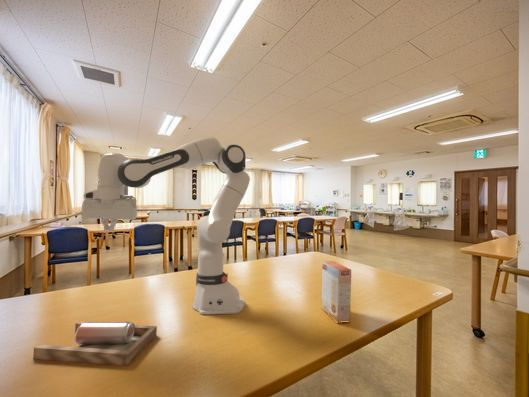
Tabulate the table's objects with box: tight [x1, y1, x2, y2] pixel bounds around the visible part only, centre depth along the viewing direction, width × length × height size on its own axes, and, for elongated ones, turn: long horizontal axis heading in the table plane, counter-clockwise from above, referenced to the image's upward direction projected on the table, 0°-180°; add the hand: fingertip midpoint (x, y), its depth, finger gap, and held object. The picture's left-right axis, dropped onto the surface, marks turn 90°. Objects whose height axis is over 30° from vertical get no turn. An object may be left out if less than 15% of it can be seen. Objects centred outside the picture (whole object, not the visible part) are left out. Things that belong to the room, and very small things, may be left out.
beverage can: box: [74, 321, 136, 345], centre depth 73 cm, size 6×6×15 cm
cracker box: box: [321, 260, 352, 322], centre depth 98 cm, size 14×6×21 cm, turn 12°
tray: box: [32, 320, 158, 367], centre depth 72 cm, size 28×15×3 cm, turn 86°
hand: (108, 230), depth 91 cm, fingers closed
